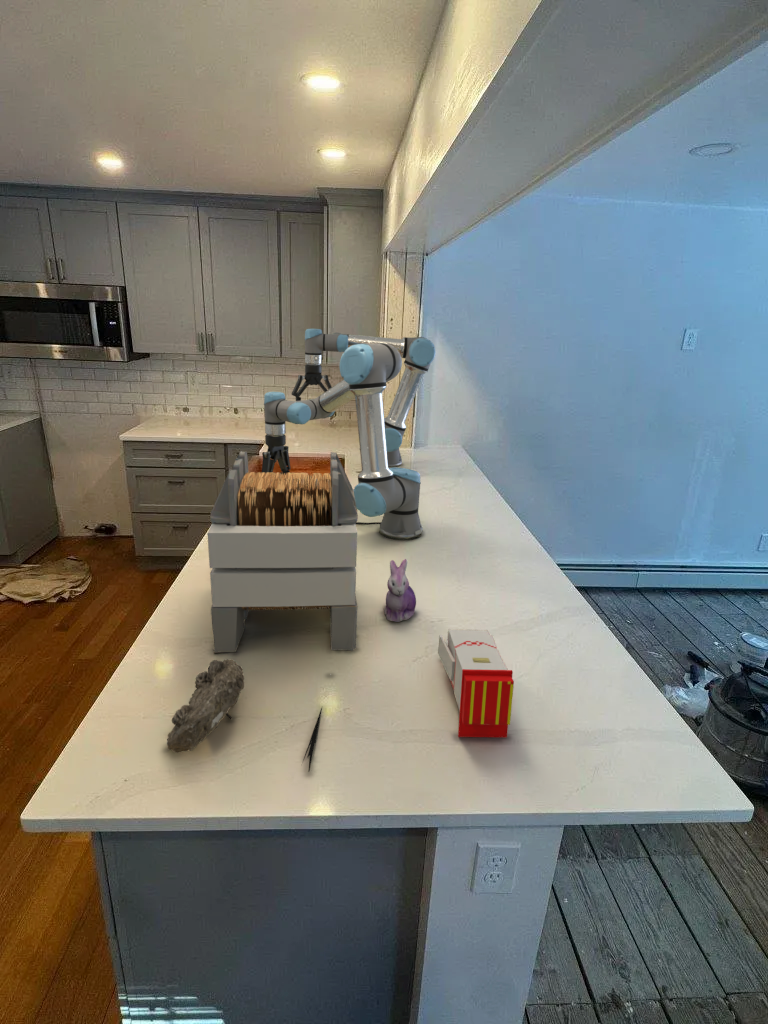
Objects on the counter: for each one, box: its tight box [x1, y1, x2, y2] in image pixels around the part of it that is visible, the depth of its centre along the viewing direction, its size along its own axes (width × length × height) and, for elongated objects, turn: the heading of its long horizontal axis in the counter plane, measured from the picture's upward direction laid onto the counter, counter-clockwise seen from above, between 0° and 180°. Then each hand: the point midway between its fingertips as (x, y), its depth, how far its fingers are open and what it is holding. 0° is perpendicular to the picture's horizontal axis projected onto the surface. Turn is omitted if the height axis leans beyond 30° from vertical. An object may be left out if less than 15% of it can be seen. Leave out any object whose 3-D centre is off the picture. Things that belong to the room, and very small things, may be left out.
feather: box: [301, 673, 332, 771], centre depth 108 cm, size 2×28×2 cm
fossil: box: [166, 658, 245, 754], centre depth 106 cm, size 22×10×15 cm
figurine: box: [384, 558, 417, 623], centre depth 145 cm, size 9×10×15 cm
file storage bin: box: [206, 450, 359, 654], centre depth 137 cm, size 34×33×41 cm
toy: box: [437, 628, 515, 738], centre depth 117 cm, size 12×13×30 cm
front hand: (276, 491), depth 219 cm, fingers open, 9 cm apart
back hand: (313, 410), depth 266 cm, fingers open, 13 cm apart
